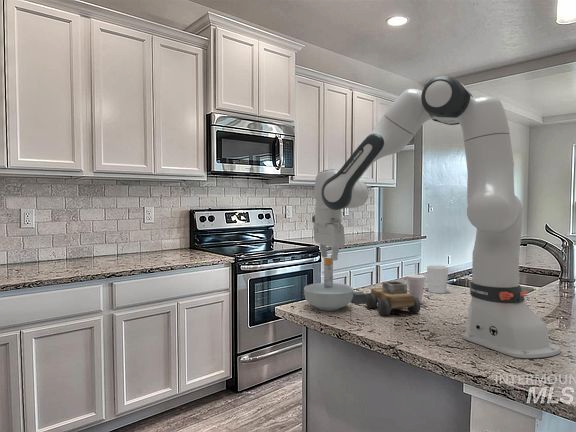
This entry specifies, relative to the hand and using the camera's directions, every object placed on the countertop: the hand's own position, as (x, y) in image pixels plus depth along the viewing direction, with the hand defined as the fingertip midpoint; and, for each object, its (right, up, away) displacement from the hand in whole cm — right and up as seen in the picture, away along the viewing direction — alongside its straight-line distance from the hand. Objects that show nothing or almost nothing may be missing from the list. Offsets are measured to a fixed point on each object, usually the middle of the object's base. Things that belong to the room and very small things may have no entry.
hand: (329, 258), depth 137 cm
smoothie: (+32, -17, +6) cm, 36 cm away
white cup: (+46, -16, +23) cm, 54 cm away
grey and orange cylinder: (0, -10, +1) cm, 10 cm away
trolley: (+21, -17, -3) cm, 27 cm away
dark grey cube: (+11, -17, +7) cm, 22 cm away
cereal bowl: (0, -17, +1) cm, 17 cm away
